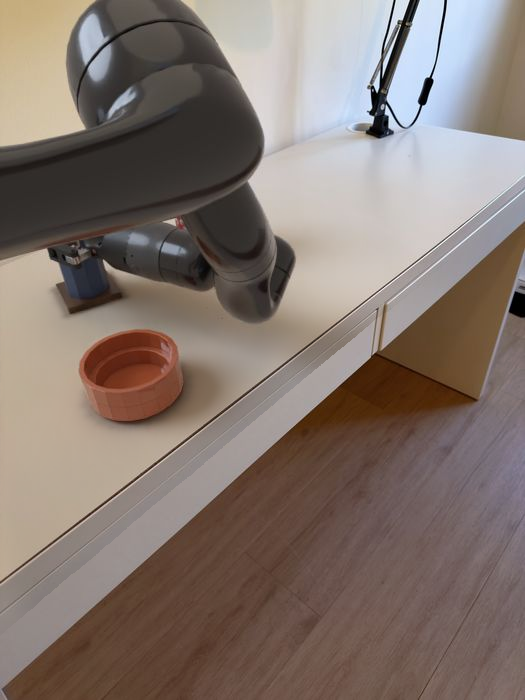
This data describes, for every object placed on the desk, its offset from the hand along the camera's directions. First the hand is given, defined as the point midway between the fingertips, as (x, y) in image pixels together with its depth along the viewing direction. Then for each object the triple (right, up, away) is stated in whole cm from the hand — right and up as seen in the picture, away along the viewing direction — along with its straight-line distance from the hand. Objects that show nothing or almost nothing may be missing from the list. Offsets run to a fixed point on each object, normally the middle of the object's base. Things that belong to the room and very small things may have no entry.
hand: (58, 224), depth 75 cm
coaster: (+2, -9, +6) cm, 11 cm away
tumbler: (+3, -8, +5) cm, 10 cm away
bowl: (+14, -23, -12) cm, 29 cm away
